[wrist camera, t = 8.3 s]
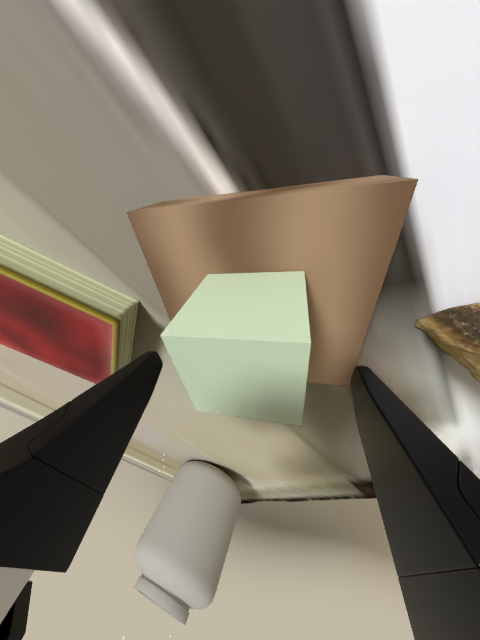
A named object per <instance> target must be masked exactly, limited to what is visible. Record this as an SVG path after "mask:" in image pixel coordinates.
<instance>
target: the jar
mask: <svg viewBox="0 0 480 640" xmlns="http://www.w3.org/2000/svg"><path fill="white" fill-rule="evenodd" d="M163 455H165V454H163ZM163 461H164V459H163ZM164 467H165V466H163V468H164ZM159 472H161V470H160V471H159ZM240 505H241V496H240V492H239V489H238V487H237V486H236V484H235V483H234V481H233V480H232V479H231V478H230V477H229V476H228V475H227V474H226V473H224V472H223V471H222V470H220V469H219V468H217V467H215V466H213V465H211V464H209V463H206V462H203V461H188V462H186V463H184V464H182V465H181V467H180V468H179V469H178V471H177V473H176V475H175V476H174V478H173V480H172V482H171V484H170V486H169V487H168V489H167V491H166V492H165V494H164V496H163V498H162V500H161V501H160V503H159V505H158V507H157V508H156V510H155V512H154V514H153V516H152V517H151V519H150V521H149V523H148V524H147V526H146V528H145V530H144V532H143V533H142V535H141V537H140V539H139V541H138V544H137V545H136V549H135V558H136V564H137V566H138V568H139V569H140V571H141V573H142V576H141V577H139V579H138V581H137V583H136V585H135V586H134V588H135V589H137V590H138V591H139V592H140V593H142V594H143V595H144V596H145V597H147V598H148V599H149V600H151V601H152V602H153V603H154V604H156V605H157V606H158V607H160V608H161V609H162V610H164V611H165V612H166V613H168V614H169V615H171V616H172V617H173V618H175V619H176V620H178V621H179V622H181V623H182V624H183V626H185V625H186V621H187V618H188V615H189V612H188V611H189V608H191V609H197V610H201V609H203V608H206V607H208V606H209V604H211V602H212V601H213V598H214V596H215V593H216V590H217V586H218V582H219V579H220V575H221V572H222V569H223V565H224V562H225V558H226V554H227V551H228V547H229V544H230V540H231V537H232V533H233V530H234V526H235V522H236V519H237V516H238V512H239V508H240ZM169 637H171V634H170V635H169ZM123 639H125V635H124V636H123Z"/></svg>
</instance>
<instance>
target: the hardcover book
mask: <svg viewBox="0 0 480 640" xmlns="http://www.w3.org/2000/svg"><path fill="white" fill-rule="evenodd" d="M138 305H139V300H136V299H134V298H132V297H130V296H128V295H126V294H124V293H122V292H120V291H118V290H116V289H114V288H112V287H110V286H108V285H105V284H103V283H101V282H99V281H97V280H95V279H93V278H91V277H89V276H87V275H85V274H83V273H81V272H79V271H77V270H74V269H72V268H70V267H68V266H66V265H64V264H62V263H60V262H58V261H56V260H54V259H52V258H50V257H48V256H45V255H43V254H41V253H39V252H37V251H35V250H33V249H31V248H29V247H27V246H25V245H23V244H21V243H19V242H17V241H14V240H12V239H10V238H8V237H6V236H4V235H2V234H0V344H2V345H5V346H7V347H9V348H12V349H14V350H17V351H19V352H21V353H24V354H26V355H29V356H31V357H33V358H36V359H38V360H40V361H43V362H45V363H48V364H50V365H52V366H55V367H57V368H60V369H62V370H64V371H67V372H69V373H71V374H74V375H76V376H79V377H81V378H83V379H86V380H88V381H90V382H93V383H95V384H98V383H99V382H101V381H102V380H104V379H105V378H107V377H108V376H110V375H112V374H113V373H115V372H116V371H118V370H119V369H121V368H122V367H124V366H126V365H127V364H129V363H130V362H131V355H132V348H133V341H134V334H135V327H136V320H137V313H138Z"/></svg>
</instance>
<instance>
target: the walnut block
mask: <svg viewBox="0 0 480 640" xmlns="http://www.w3.org/2000/svg"><path fill="white" fill-rule="evenodd" d="M417 182H418V179H412V178H404V177H395V176H387V175H378V176H370V177H362V178H353V179H345V180H337V181H329V182H320V183H312V184H304V185H296V186H288V187H279V188H271V189H263V190H255V191H247V192H238V193H230V194H222V195H214V196H206V197H197V198H189V199H181V200H173V201H164V202H160V203H157V204H154V205H150V206H147V207H143V208H140V209H136V210H133V211H130V212H127V214H128V217H129V219H130V222H131V224H132V227H133V229H134V231H135V234H136V236H137V239H138V241H139V244H140V246H141V249H142V251H143V254H144V256H145V259H146V261H147V264H148V266H149V269H150V271H151V274H152V276H153V278H154V281H155V283H156V286H157V288H158V291H159V293H160V296H161V298H162V301H163V303H164V306H165V308H166V311H167V313H168V316H169V318H170V320H171V321H172V320H173V318H174V317H175V316H176V314H177V313H178V312H179V311H180V309H181V308H182V307H183V305H184V304H185V303H186V302H187V300H188V299H189V298H190V296H191V295H192V294H193V293H194V291H195V290H196V289H197V287H198V286H199V285H200V284H201V282H202V281H203V280H204V278H205V277H206V276H207V275H208V274H229V273H260V272H290V271H304V272H305V283H306V294H307V305H308V316H309V327H310V338H311V348H310V357H309V365H308V374H307V383H315V384H326V385H337V386H349V383H350V380H351V377H352V374H353V371H354V368H355V365H356V362H357V359H358V356H359V353H360V350H361V347H362V344H363V341H364V338H365V335H366V332H367V329H368V326H369V323H370V320H371V318H372V315H373V312H374V309H375V306H376V303H377V300H378V297H379V294H380V291H381V288H382V285H383V282H384V279H385V276H386V273H387V270H388V267H389V264H390V261H391V258H392V255H393V253H394V250H395V247H396V244H397V241H398V238H399V235H400V232H401V229H402V226H403V223H404V220H405V217H406V214H407V211H408V208H409V205H410V202H411V199H412V196H413V193H414V190H415V187H416V185H417Z"/></svg>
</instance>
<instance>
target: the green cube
mask: <svg viewBox="0 0 480 640" xmlns="http://www.w3.org/2000/svg"><path fill="white" fill-rule="evenodd" d="M160 336H161V338H162V340H163V342H164V345H165V347H166V349H167V351H168V353H169V355H170V357H171V359H172V361H173V363H174V365H175V367H176V369H177V371H178V373H179V375H180V377H181V380H182V382H183V384H184V386H185V388H186V390H187V392H188V394H189V396H190V398H191V400H192V402H193V404H194V406H195V408H196V410H197V411H201V412H208V413H215V414H221V415H228V416H235V417H242V418H248V419H255V420H262V421H268V422H275V423H282V424H289V425H295V426H302V419H303V410H304V401H305V392H306V383H307V374H308V365H309V357H310V348H311V338H310V327H309V316H308V305H307V294H306V283H305V272H304V271H290V272H260V273H229V274H208V275H207V276H206V277H205V278H204V280H203V281H202V282H201V284H200V285H199V286H198V287H197V289H196V290H195V291H194V293H193V294H192V295H191V296H190V298H189V299H188V300H187V302H186V303H185V304H184V305H183V307H182V308H181V309H180V311H179V312H178V313H177V314H176V316H175V317H174V318H173V320H172V321H171V322H170V323H169V325H168V326H167V327H166V329H165V330H164V331H163V332H162V334H161V335H160Z"/></svg>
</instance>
